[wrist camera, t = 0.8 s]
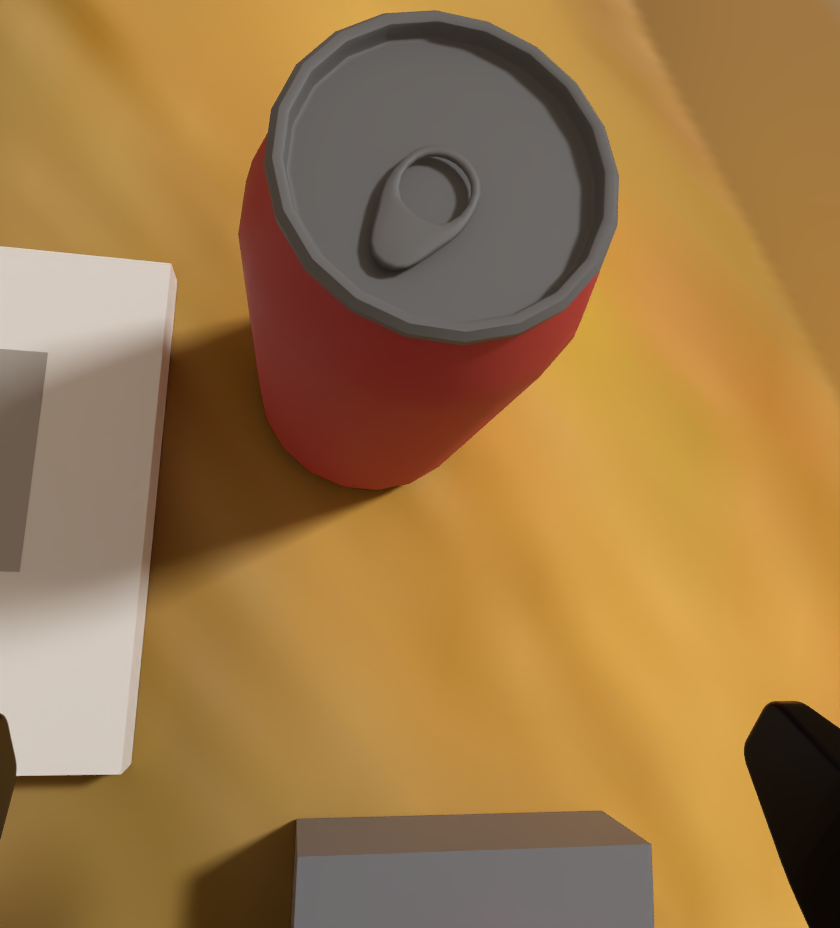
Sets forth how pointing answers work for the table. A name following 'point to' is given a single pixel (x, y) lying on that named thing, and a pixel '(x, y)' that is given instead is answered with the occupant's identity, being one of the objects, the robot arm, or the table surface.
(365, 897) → the grey square frame
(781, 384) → the table surface
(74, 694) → the paper card
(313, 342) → the beer can
